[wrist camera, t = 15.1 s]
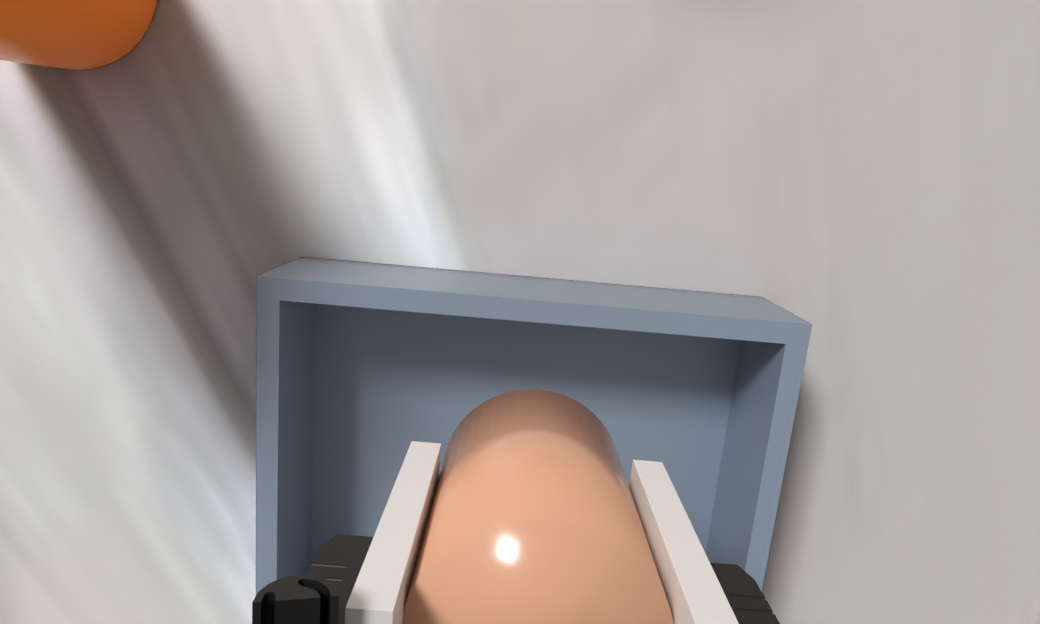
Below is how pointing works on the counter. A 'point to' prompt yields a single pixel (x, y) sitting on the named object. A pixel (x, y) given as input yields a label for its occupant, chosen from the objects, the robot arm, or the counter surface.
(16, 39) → the shaker bottle
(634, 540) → the peach capsule pill
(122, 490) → the counter surface
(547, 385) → the tote
